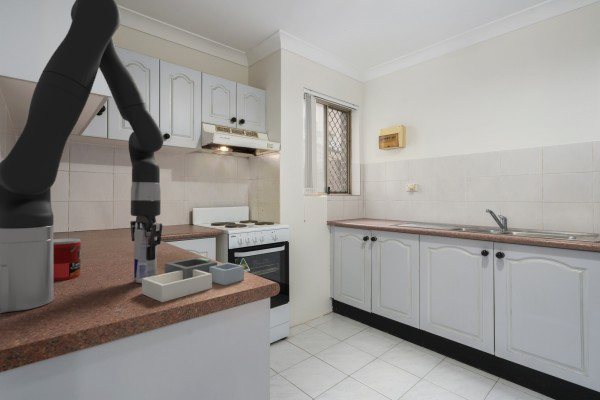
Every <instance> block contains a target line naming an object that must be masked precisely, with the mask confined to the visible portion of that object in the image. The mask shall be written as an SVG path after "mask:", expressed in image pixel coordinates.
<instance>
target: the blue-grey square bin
mask: <svg viewBox="0 0 600 400" xmlns="http://www.w3.org/2000/svg"><path fill="white" fill-rule="evenodd" d="M209 273H211V274H212V283H216V284H219V285H223V286H228V285H231V284H234V283H238V282H241V281H245V266H244V265H241V264H235V263H231V262H225V263H222V264H221V263H220V264H217V265H216V266H211V267H209Z"/></svg>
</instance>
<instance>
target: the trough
mask: <svg viewBox="0 0 600 400" xmlns="http://www.w3.org/2000/svg"><path fill="white" fill-rule="evenodd" d="M212 288H213V282H212V274H211V273H207V272H203V271H200V270H196V269H195V270H193V278H188V279H184V280H183V271H182V270H180V271H175V272H170V273H166V274H165V273H162V274H158V275H157V274H156V276H151V277H146V278H142V283H141V294H142V295H144V296H147V297H149V298H150V299H153V300H156V301H159V302H160V303H165V302H168V301H172V300H175V299H179V298H182V297H185V296H190V295H192V294H196V293H199V292H204V291H207V290H210V289H212Z"/></svg>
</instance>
